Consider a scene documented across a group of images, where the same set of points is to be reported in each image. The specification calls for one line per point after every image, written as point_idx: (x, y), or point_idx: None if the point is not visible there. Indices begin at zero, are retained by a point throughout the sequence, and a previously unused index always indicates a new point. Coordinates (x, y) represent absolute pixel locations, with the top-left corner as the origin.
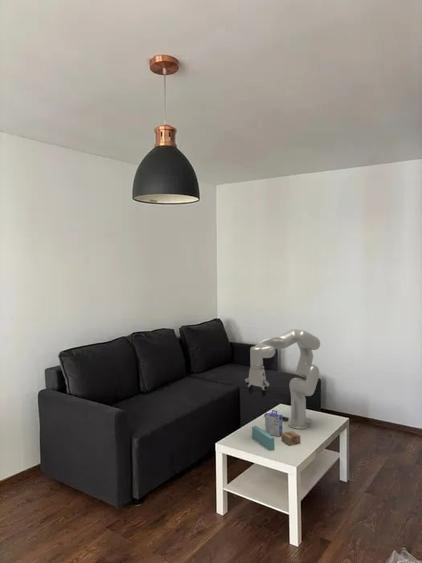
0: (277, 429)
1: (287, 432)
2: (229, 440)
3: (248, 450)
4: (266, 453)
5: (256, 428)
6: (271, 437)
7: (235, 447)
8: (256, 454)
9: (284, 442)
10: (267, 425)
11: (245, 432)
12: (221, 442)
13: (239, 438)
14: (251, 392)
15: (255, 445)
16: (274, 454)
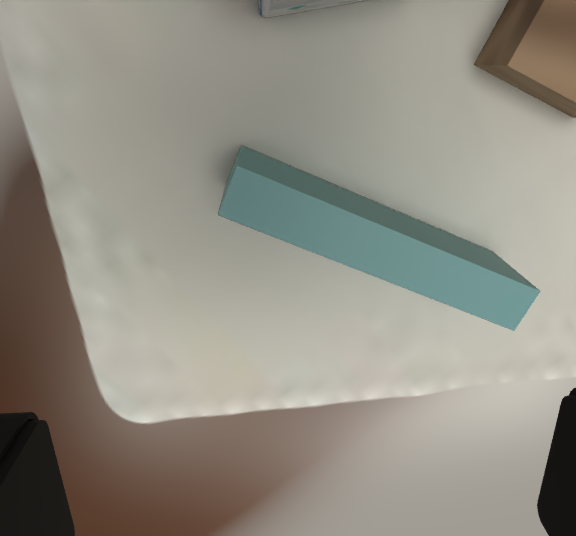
0: None
1: (558, 2)
2: (122, 338)
3: (341, 374)
4: (469, 335)
5: (284, 223)
6: (516, 305)
7: (240, 394)
8: (418, 385)
9: (514, 85)
10: (292, 2)
11: (95, 123)
12: (106, 396)
13: (152, 262)
14: (53, 485)
15: (335, 284)
16: None
